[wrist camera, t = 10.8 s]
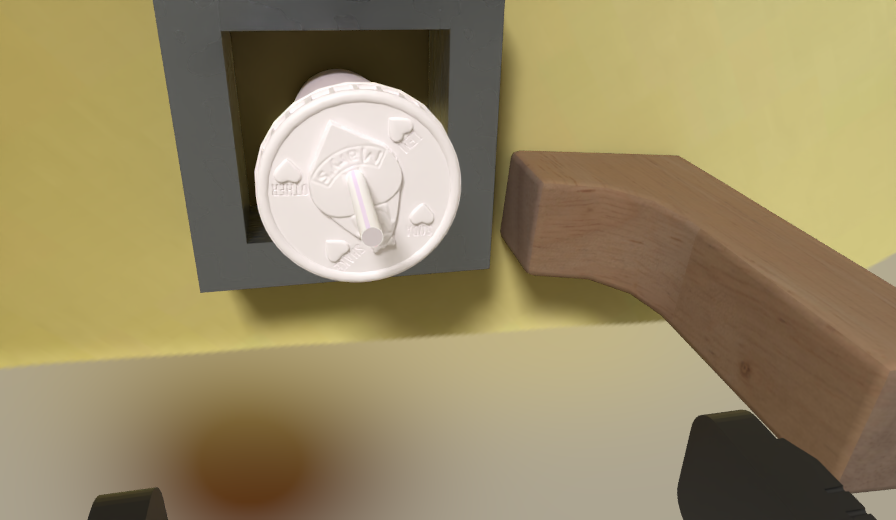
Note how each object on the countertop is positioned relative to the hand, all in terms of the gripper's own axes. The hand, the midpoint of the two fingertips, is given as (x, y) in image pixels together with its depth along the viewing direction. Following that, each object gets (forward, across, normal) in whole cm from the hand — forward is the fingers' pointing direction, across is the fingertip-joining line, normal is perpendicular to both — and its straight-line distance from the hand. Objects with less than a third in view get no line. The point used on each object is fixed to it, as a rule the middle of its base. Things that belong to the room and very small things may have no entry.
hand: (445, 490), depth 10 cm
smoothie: (+22, 0, 0) cm, 22 cm away
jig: (+22, 0, 0) cm, 22 cm away
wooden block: (+22, -12, +4) cm, 26 cm away
